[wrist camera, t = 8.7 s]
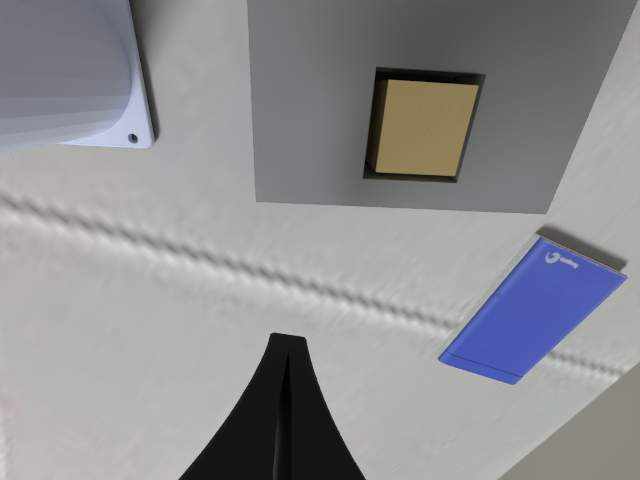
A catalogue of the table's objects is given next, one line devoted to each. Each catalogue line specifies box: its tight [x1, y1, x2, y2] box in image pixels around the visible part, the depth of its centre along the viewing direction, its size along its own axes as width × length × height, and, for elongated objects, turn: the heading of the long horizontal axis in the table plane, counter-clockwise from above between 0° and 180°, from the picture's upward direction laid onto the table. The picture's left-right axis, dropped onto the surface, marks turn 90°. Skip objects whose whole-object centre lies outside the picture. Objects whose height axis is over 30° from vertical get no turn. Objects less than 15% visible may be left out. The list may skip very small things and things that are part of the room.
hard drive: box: [435, 233, 628, 385], centre depth 23 cm, size 2×8×12 cm
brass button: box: [365, 80, 479, 176], centre depth 15 cm, size 4×4×3 cm
